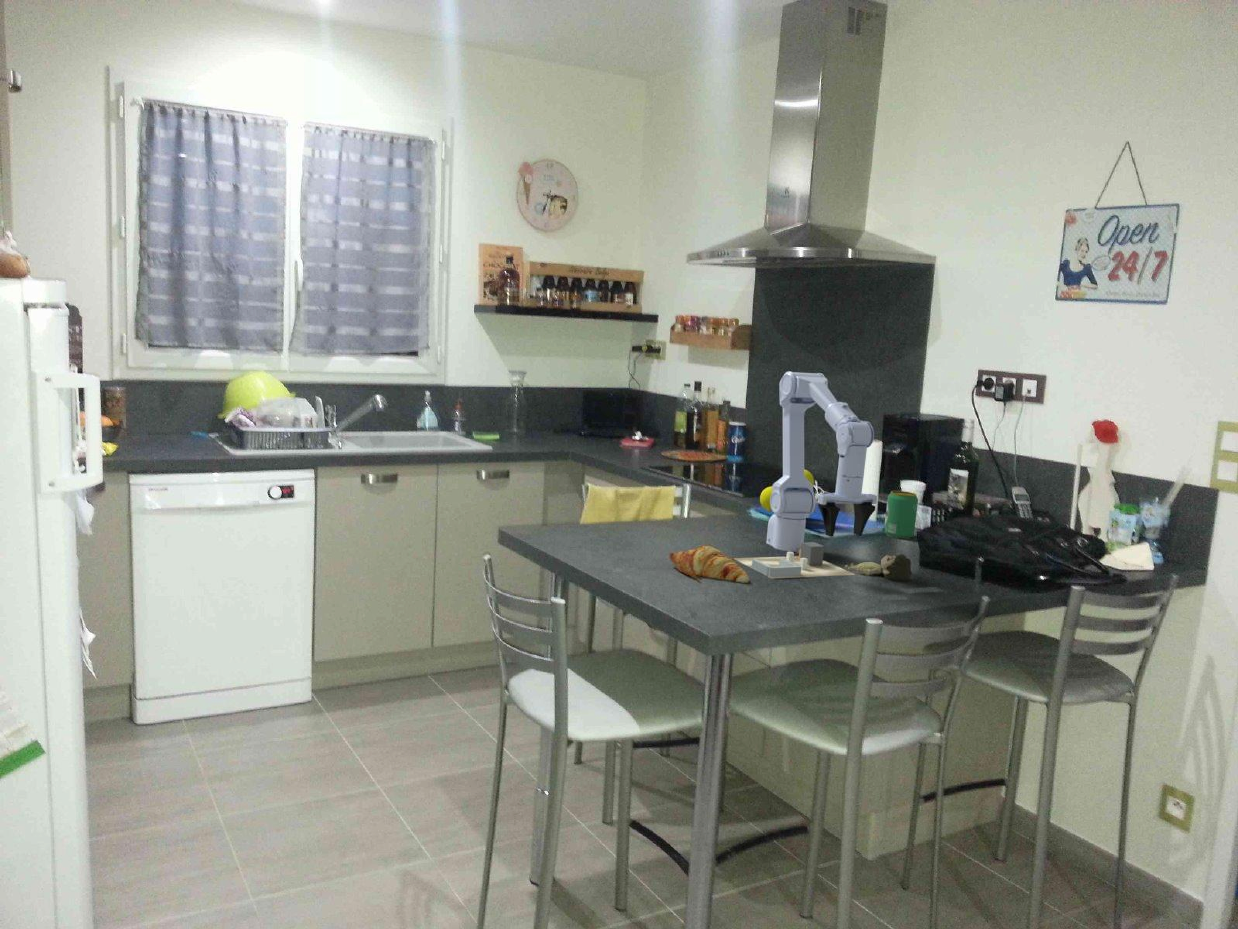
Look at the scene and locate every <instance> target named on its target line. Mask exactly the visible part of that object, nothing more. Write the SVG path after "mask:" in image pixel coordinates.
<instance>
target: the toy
mask: <svg viewBox="0 0 1238 929" xmlns="http://www.w3.org/2000/svg"><path fill="white" fill-rule="evenodd" d="M804 477H805V478H806V479H807V480H808V481H809V482H811V483H812V485H813V486H814V485H815V479H814V475H813V474H812V473H811V472H810V471H809V470H807V469H805V468H804ZM772 487H773V485H772V486H768V487H766V488H764V489H763V490H762V492H761V493H760V496H759V502H760V505H761V507H762V508H763V509H764V510H766V511H767V512H771V513H774V512H773V511H772V509H771V506H770V498H771V495H772ZM785 490H800V489H799V488H786V489H785ZM814 496H815V497H816V495H815V493H814ZM815 510H816V507H815V508H814V510H813V512H814V513H815ZM813 512H812V513H813ZM814 513H813V514H814Z"/></svg>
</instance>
